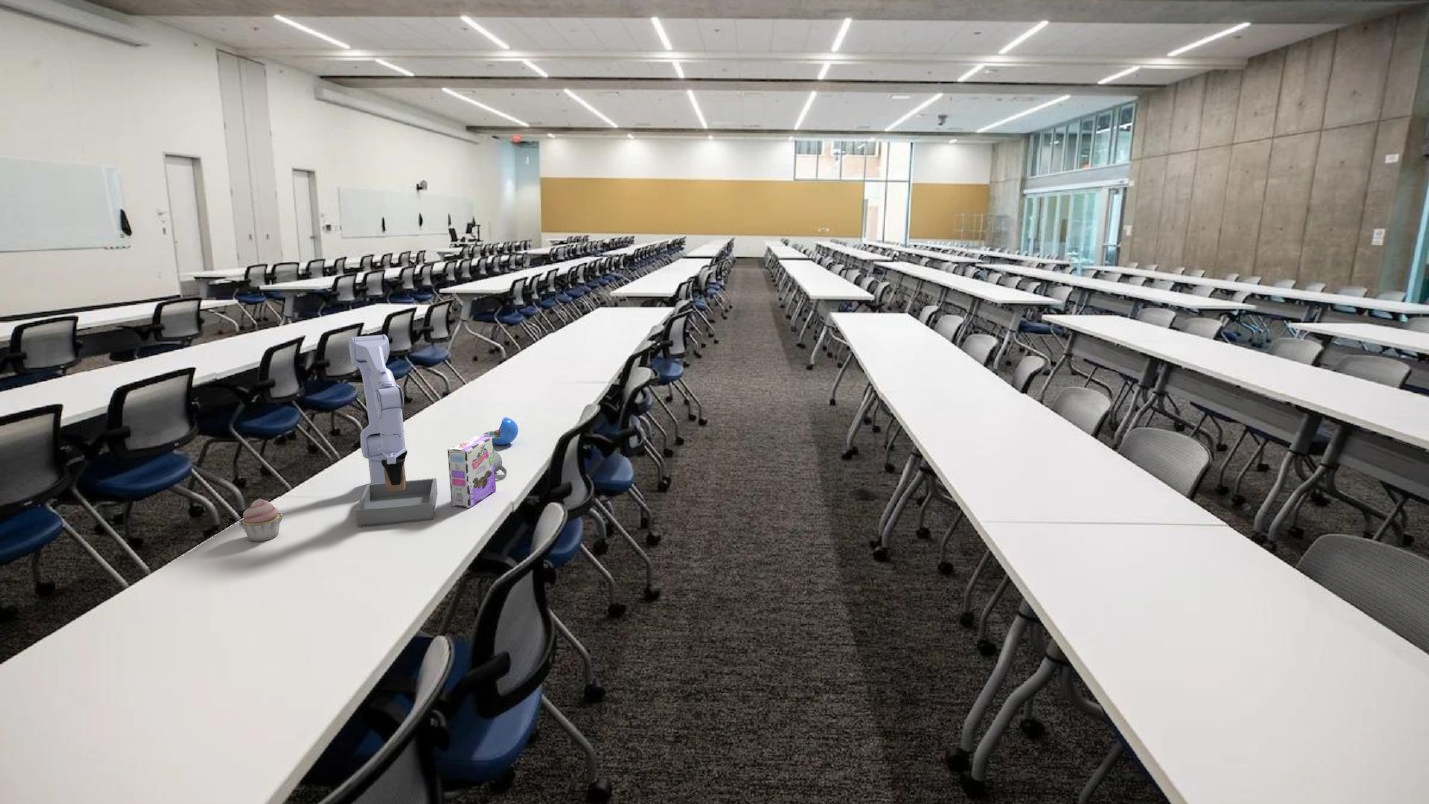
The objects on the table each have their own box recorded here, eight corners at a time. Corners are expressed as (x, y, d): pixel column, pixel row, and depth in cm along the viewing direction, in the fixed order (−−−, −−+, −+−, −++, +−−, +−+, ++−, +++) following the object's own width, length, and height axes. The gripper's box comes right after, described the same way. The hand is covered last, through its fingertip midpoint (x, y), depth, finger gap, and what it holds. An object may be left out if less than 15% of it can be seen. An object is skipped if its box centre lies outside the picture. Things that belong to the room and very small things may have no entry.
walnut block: (388, 485, 200) (386, 464, 199) (406, 484, 202) (404, 463, 200) (386, 491, 196) (383, 469, 195) (404, 489, 197) (402, 468, 196)
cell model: (490, 439, 264) (488, 413, 261) (523, 440, 263) (521, 414, 260) (479, 447, 254) (477, 420, 252) (513, 449, 253) (511, 422, 251)
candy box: (470, 508, 201) (465, 450, 197) (450, 506, 203) (446, 448, 199) (497, 491, 214) (493, 436, 210) (478, 489, 216) (474, 434, 212)
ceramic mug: (466, 479, 224) (465, 455, 222) (481, 470, 231) (479, 447, 229) (499, 483, 221) (498, 458, 220) (512, 474, 229) (511, 450, 227)
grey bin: (368, 499, 207) (367, 484, 206) (437, 493, 212) (436, 478, 211) (357, 527, 189) (355, 510, 188) (433, 519, 194) (431, 503, 193)
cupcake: (265, 546, 177) (260, 507, 175) (232, 543, 179) (226, 504, 177) (294, 531, 186) (289, 493, 184) (262, 527, 188) (257, 490, 186)
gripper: (379, 426, 201) (384, 474, 204) (371, 441, 187) (377, 492, 191) (407, 424, 203) (411, 471, 206) (401, 439, 189) (406, 489, 193)
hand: (397, 481), depth 199 cm, fingers closed on walnut block, 4 cm apart
